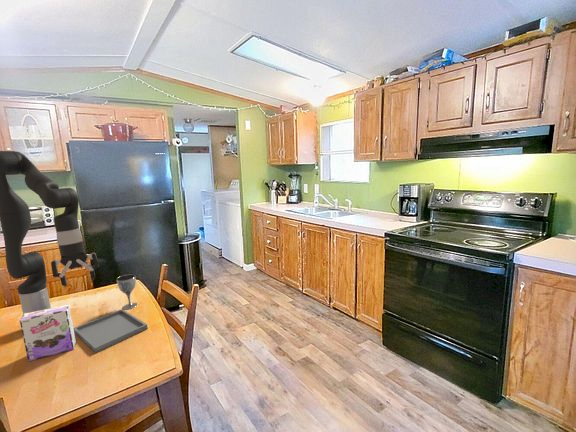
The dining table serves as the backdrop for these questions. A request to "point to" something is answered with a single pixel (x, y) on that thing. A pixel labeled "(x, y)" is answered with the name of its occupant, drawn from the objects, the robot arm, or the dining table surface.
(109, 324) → the tray
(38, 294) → the robot arm
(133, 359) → the dining table surface
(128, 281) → the wine glass
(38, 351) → the candy box
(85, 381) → the dining table surface
